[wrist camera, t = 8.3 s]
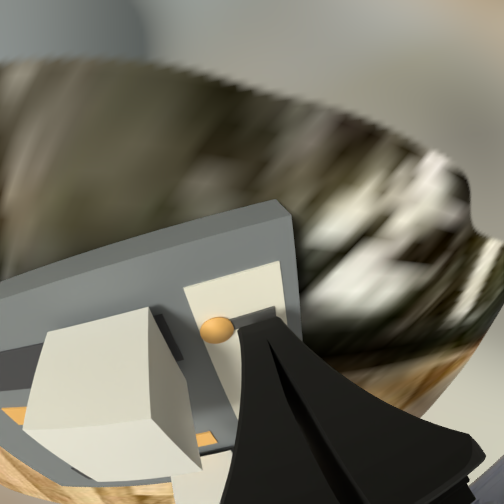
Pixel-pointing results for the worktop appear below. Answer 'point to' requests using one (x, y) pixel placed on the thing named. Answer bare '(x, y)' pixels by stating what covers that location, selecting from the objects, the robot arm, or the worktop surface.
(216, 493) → the white cube
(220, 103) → the worktop surface
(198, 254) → the switch unit
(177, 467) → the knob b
